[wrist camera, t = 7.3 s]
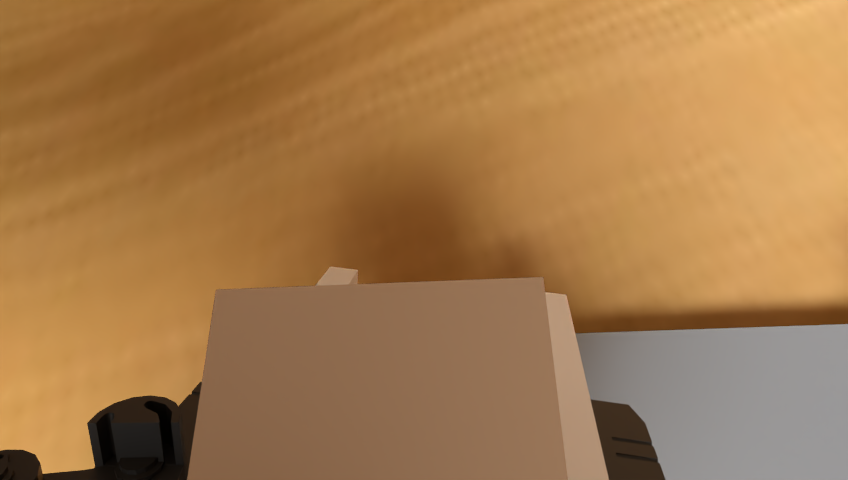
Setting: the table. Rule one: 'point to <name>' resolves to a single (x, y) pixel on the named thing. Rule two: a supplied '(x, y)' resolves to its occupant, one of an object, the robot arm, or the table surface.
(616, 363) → the strip
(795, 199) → the table surface
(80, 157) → the table surface
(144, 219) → the table surface
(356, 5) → the table surface
